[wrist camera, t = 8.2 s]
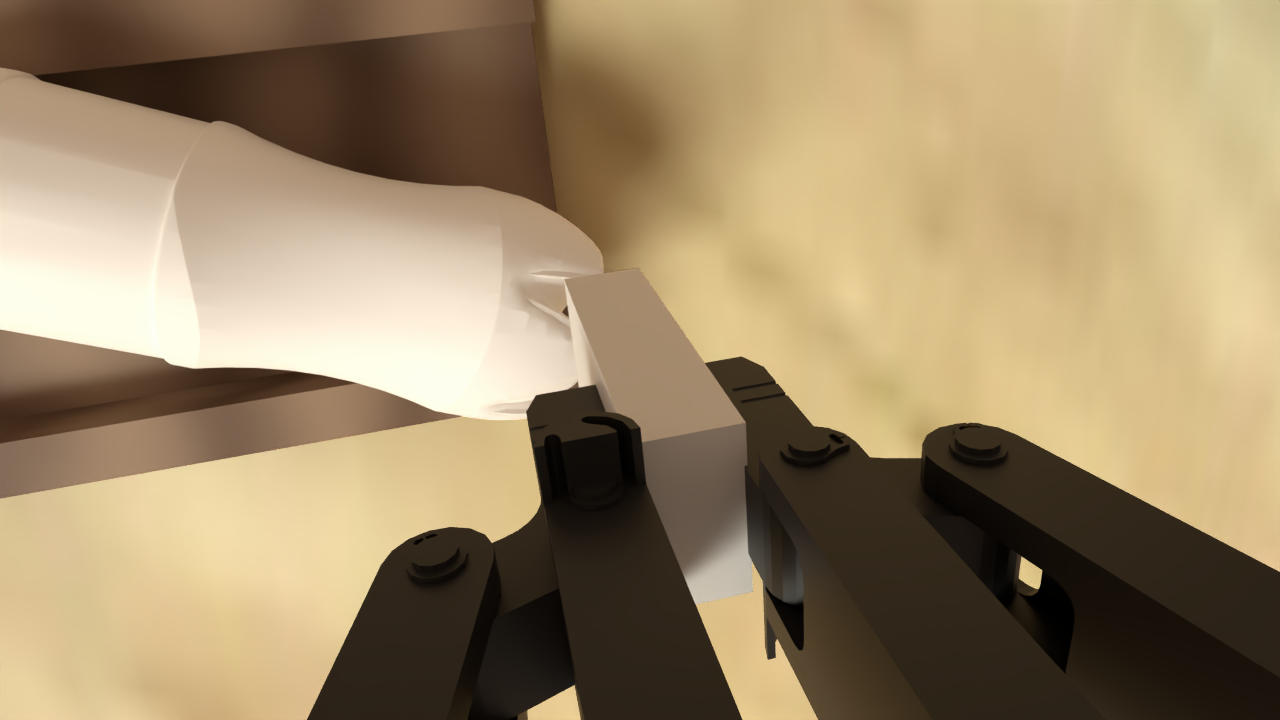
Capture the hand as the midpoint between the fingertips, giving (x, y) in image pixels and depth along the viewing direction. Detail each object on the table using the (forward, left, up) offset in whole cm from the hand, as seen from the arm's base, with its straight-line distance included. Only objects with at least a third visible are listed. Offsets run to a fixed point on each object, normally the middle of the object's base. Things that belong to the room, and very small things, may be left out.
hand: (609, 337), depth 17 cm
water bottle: (-1, +4, -10) cm, 11 cm away
